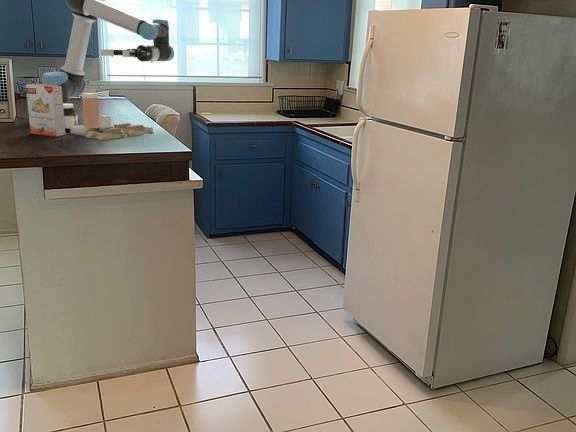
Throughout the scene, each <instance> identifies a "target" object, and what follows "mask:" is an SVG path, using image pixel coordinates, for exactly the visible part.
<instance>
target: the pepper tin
mask: <svg viewBox="0 0 576 432" xmlns="http://www.w3.org/2000/svg"><path fill="white" fill-rule="evenodd" d="M111 117H112V116H111V115H108V114H107V115H105V114H102V115H100V114H99V116H98V120H99V133H103V129H111V126H112V118H111Z"/></svg>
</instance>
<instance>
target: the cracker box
mask: <svg viewBox="0 0 576 432" xmlns="http://www.w3.org/2000/svg"><path fill="white" fill-rule="evenodd" d="M25 90H26V91H25V92H26V101H27V112H28V119H29V121H28V122H29V130H30V134H31V135H38V136H39V135H40V136H48V137H55V138H56V137H57V138H58V137H62V136H66V134H67V132H65V121H64V109H63V97H62V86H55V85H45V84H42V83H28V84H25Z"/></svg>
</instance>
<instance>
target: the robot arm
mask: <svg viewBox="0 0 576 432" xmlns="http://www.w3.org/2000/svg"><path fill="white" fill-rule="evenodd" d="M64 1H65V3H66V5H67V7H68V8H69V9H70V10H71V14H72V15H73V21H72V27H71V32H70V37H69V42H68V47H67V53H66V57H65V64H64V65H63V66H61V67H60V70H59V71H49V72H45V73H43V74H42V75H41V84H45V85H55V86H62V97H63V104H71V103H70V98H76V97H79V96H82V94H84V93H85V91H86V89H87V81H86V79H85V75H86V73H85V71H84V66H85V61H86V56H87V50H88V47H89V41H90V36H91V31H92V27H93V23H95V22H96V21H97V19H100V20H101V21H104V22H107V23H109V24H112V25H115V26H116V27H119V28H121V29H123V30H126V31H129V32H130V33H131V32H132V33H133V34H136V35H137V36H140V37H141V38H143V39H145V40H147V41H152V40H153V41H152V42H153V44H139V45H138V46H137V47H136V48H127V49H114V48H113V49H108V48H107V49H100V56H101V57H103V56H107V57H111V58H113V57H114V56H122V58H137V60H138V61H140V62H143V63H144V62H150V63H151V64H153V62H168V61H169V62H170V61H172V60H173V59H174V57H175V50H174V48H173V47H172V46H171V45H170V25H169V20H167V19H162V18H154V19H153V20H152V22H151V21H150V20H147V19H144V18H141V17H140V16H137V15H135V14H133V13H130V12H128V11H125V10H123V9H120V8H118V7H116V6H115V5H111V4H109V3H107V2H104V0H64Z"/></svg>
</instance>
